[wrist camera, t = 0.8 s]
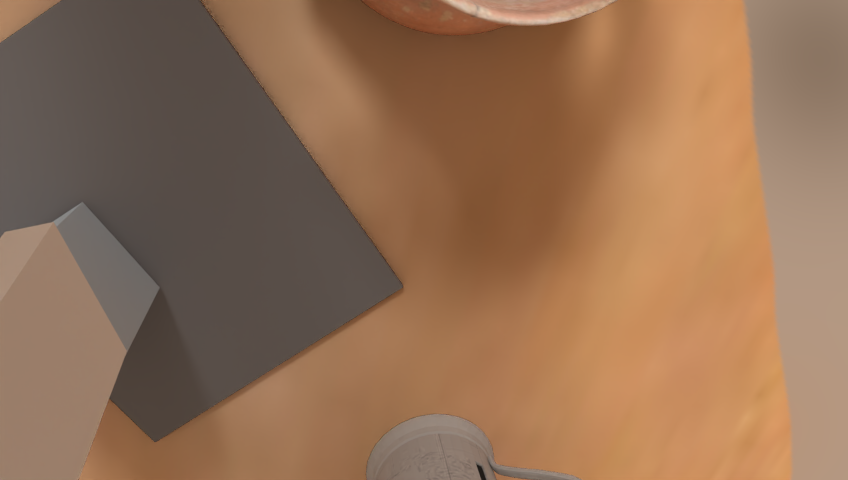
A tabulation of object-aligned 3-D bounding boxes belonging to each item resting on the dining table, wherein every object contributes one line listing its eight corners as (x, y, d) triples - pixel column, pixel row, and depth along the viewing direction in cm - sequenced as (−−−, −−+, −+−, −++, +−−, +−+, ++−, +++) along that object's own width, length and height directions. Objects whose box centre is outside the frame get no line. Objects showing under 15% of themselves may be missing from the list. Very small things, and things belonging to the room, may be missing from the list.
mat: (-145, 145, 33) (-151, 147, 32) (154, -63, 31) (153, -63, 31) (156, 438, 41) (154, 442, 41) (402, 284, 40) (403, 287, 39)
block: (-8, 260, 35) (-107, 347, 27) (84, 199, 35) (12, 269, 27) (74, 341, 38) (5, 443, 29) (161, 285, 37) (116, 373, 29)
